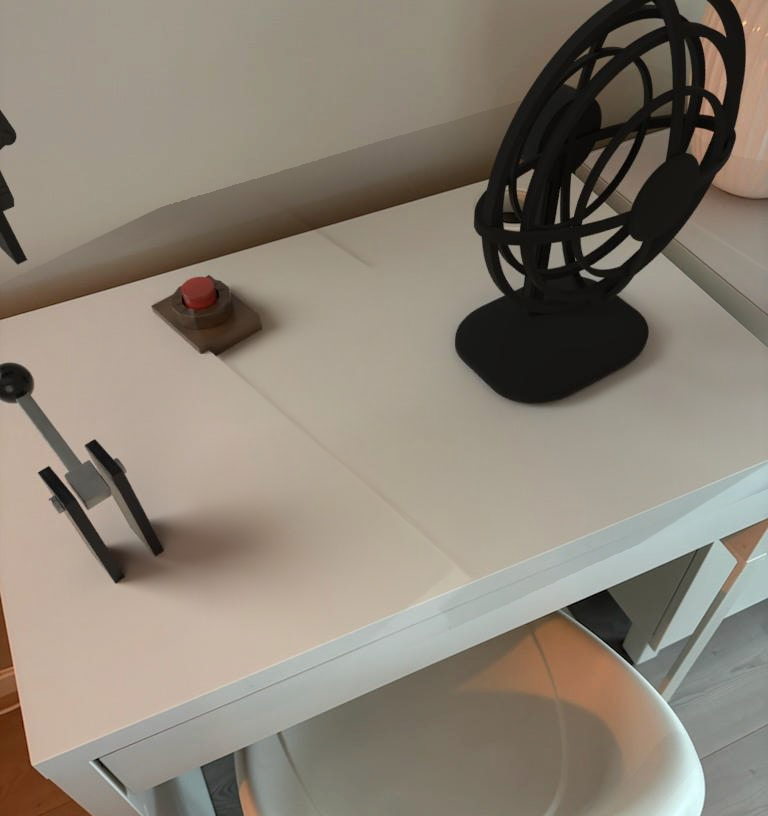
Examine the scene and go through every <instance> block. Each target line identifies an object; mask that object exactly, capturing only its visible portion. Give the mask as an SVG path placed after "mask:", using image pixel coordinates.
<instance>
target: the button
mask: <svg viewBox="0 0 768 816" xmlns="http://www.w3.org/2000/svg"><path fill="white" fill-rule="evenodd" d="M181 286H182V287H181V292H182V295H183V298H184V301H185V304H186V306H187V307H188V308H190V309H195V310H198V309H204V308H208V307H210V306H211V305H213V304H215V303H216V301H217V294H216V290H215V286H214V283H213V281H212V280H211V279H209V278H207V277H206V276H195V277H191V278H189V279H188V280H186V281H184V282H183V284H181Z"/></svg>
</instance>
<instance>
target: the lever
mask: <svg viewBox="0 0 768 816" xmlns="http://www.w3.org/2000/svg"><path fill="white" fill-rule="evenodd" d="M34 390H35V378H34V376H33V374H32V373H31V371H30V370H29V369H28V368H27V367H25V366H24V365H22V364H20V363H17V362H12V361H10V362H9V361H8V362H3V363H1V364H0V401H1V402H3V403H6V404H11V405H16V404H17V405H18V406H19V408H20V409H21V410H22V412H23V413H24V414H25V416H26V417H27V418H28V420H29V421H30V422H31V424H32V425H33V426H34V427H35V429H36V430H37V432H38V433H39V435H41V437H42V439H43V440H44V441H45V443H47V445H48V446H49V448H50V449H51V450H52V452H53V453H54V454H55V456H56V457H57V458H58V460H59V461H60V462H61V464H62V465H63V467H65V469H66V470H67V471H68V472H67V473H64V475H63V477H64V478H65V479H64V480H65V481H66V484H67V485H68V486H69V487H70V489H71V490H72V492H73V494H75V495H76V497H77V498H78V500H79V501H80V502H81V503H82V505H83V506H84V508H85V509H86V511H87V510H88V511H89V510H91V509H93V508H94V507H96V506H97V505H99V504H101V503H102V502H104V501H105V500H107V499H108V498H110V497H111V496H112V494H111V490H110V487H109V486H108V484H107V483H106V482H105V480H104V479H103V478H102V476H101V475H100V473H99V471H98V469H97V467H96V466H95V464H94V463H93V462H92V461H91V460H86V461H84V462H83V463H82V462H81V460H80V459H79V458H78V456H77V454H76V453H75V452H74V451H73V450H72V448H71V447H70V446H69V445H68V443H67V442H66V440H65V439H64V438H63V436H62V435H61V434H60V432H59V431H58V430H57V427H55V426H54V425H53V423H52V422H51V420H50V419H49V418H48V416H47V415H46V414H45V412H44V411H43V410H42V408H41V407H40V406H39V404H38V403H37V402H36V400H35V399H34V398H33V396H32V395H33V393H34Z"/></svg>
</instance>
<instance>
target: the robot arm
mask: <svg viewBox="0 0 768 816" xmlns="http://www.w3.org/2000/svg"><path fill="white" fill-rule="evenodd" d="M16 141H17V132H16V129H14V127H13V125H12V124H11V123H10V121H9V120H8V119H7V117H6V115H5V114H4V113H3V112H2V110H1V109H0V151H1V150H2V149H3V148H4V147H6V146H7V147H8V146H9V147H10V146H11V145H14V144H15V142H16ZM13 208H15V198H14V196H13V194H12V192H11V189H10V187H9V185H8V183H7V181H6V179H5V177H4V175H3V173H2V171H1V170H0V249H1V250H2V251H3V252H4V253H5V254H6V255H7V257H9V259H11V260H12V261H13V262H14V263H15V264H16V265H18V266H19V265H20V264H22V263H25V262H26V261H28V258H27V256H26V254H25V252H24V250H23V248H22V246H21V244H20V242H19V240H18V238H17V237H16V235H15V234H16V233H15V232H14V230H13V229H12V226H11V224H10V222H9V221H8V219H7V217H6V214H5V213H4V212H6V211H8V210H10V209H13Z"/></svg>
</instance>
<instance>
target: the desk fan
mask: <svg viewBox="0 0 768 816" xmlns="http://www.w3.org/2000/svg"><path fill="white" fill-rule="evenodd" d="M706 1H707V2H708V4H710V5H711V6H712V8H713V9H714V10H715V12H716V13H717V15H718V17H719V19H720V22H721V24H722V26H723V29H724V32H725V35H724V34H723V33H722V32H720V31H718V30H717V29H715V28H713V27H710V26H708V25H705V24H704V23H700V22H696V21H690V20H689V19H688V18H686V17H685V16H684V15H683V14H681V13H680V11H679V6H678V5H677V2H676V0H610V1H609V2H608V3H606V4H605V5H603V6H602V7H601V8H600V9H599V10H597V11H596V12H594V14H592V15H591V16H590V17H589V18H588V19H586V21H584V22H583V23H582V24H581V25H580V26H579V27H578V28H577V29H576V30H575V31H574V32H573V33H572V34H571V35H570V36H569V37H568V39H567V40H566V41H565V42H564V43H563V44H562V45H561V46H560V47H559V48H558V50H557V51H556V52H555V53H554V54H553V55H552V57H551V58H550V59H549V61H548V62H547V63H546V65H545V66H544V68H542V70H541V71H540V73H539V74H538V76H537V77H536V79H535V80H534V82H533V83H532V85H531V86H530V88H529V90H528V91H527V92H526V94H525V95H524V97H523V99H522V101H521V103H520V104H519V106H518V108H517V110H516V112H515V113H514V115H513V117H512V119H511V121H510V124H509V126H508V127H507V130H506V132H505V134H504V136H503V138H502V140H501V143H500V146H499V148H498V151H497V153H496V156H495V159H494V162H493V165H492V168H491V171H490V174H489V178H488V182H487V186H486V189H485V190H484V192H483V193H482V194H481V196H480V197H479V198H478V200H477V202H476V204H475V206H474V213H473V228H474V230H475V232H476V234H477V235H478V236H479V237H481V247H482V254H483V258H484V263H485V267H486V269H487V271H488V274H489V276H490V279H491V280H492V282H493V284H494V285H495V287H496V288H497V289H498V290H499V291H500V292H501V293H502V294H503V295H502V296H501V297H498V298H496V299H493V300H492V301H490V302H488V303H487V302H486V303H485V304H482V305H481V306H479V307H477V308H476V309H474V310H473V311H471V312H470V313H469V314H467V315H466V316H465V317H464V318H463V320H462V321H461V322H460V323H459V324H458V326H457V329H456V332H455V334H454V335H455V336H454V349H455V352H456V353H457V356H458V357H459V358H460V359H461V361H462V362H463V363H464V364H466V365H467V366H468V367H469V368H470V369H471V370H472V371H473V372H474V373H475V374H476V375H477V376H478V377H479V378H480V379H481V380H482V381H483V382H484V383H485V384H486V385H487V386H488V387H489V388H490V389H491V390H493V392H495V393H496V394H498V395H500V396H501V397H503V398H505V399H508V400H509V401H514V402H519V403H523V404H524V403H526V404H543V403H550V402H555V401H558V400H561V399H565V398H567V397H569V396H572V395H573V394H576V393H578V392H580V391H581V390H584V389H585V388H587V387H589V386H591V385H593V384H594V383H597V382H598V381H601V380H602V379H604V378H606V377H608V376H610V375H612V374H614V373H615V372H617V371H619V370H621V369H623V368H625V367H627V366H628V365H629V364H631V363H633V361H635V360H636V359H637V358H638V357H639V356H640V355H641V353H643V350H645V347H646V344H647V343H648V338H649V334H650V333H649V332H650V330H649V325H648V322H647V320H646V318H645V317H644V315H642V313H641V312H639V311H638V309H636V308H634V307H633V306H632V305H631V304H629V303H628V302H627V301H625V300H624V299H622V298H621V297H620V296H619V294H620V293H621V292H623V291H624V289H625V288H626V287H627V286H628V285H629V284H630V283H631V281H632V280H633V279H634V277H635V276H636V275H637V274H639V273H640V272H641V271H642V270H643V269H645V268H646V267H647V266H649V264H651V263H652V262H653V261H654V259H656V258H657V257H658V256H659V255H660V254H661V253H662V252H663V251H664V250H665V248H667V246H668V245H669V244H670V243H671V242H672V241H673V240H674V238H676V236H677V235H678V234H679V233H680V231H681V230H682V229H683V228H684V226H685V225H686V224H687V223H688V221H689V220H690V219H691V217H692V216H693V214H694V213H695V211H696V210H697V208H698V207H699V205H700V204H701V202H702V201H703V199H704V197H705V196H706V195H707V192H708V190H709V189H710V187H711V185H712V183H713V181H714V179H715V178H716V176H717V174H718V173H720V171H721V170H722V169H723V168H724V166H725V165H726V164H727V163H728V161H729V159H730V157H731V156H732V152H733V150H734V146H735V144H736V140H737V132H736V130H735V128H736V124H737V121H738V116H739V112H740V106H741V101H742V99H741V98H742V93H743V88H744V81H745V74H746V66H747V65H746V64H747V46H746V35H745V29H744V26H743V22H742V19H741V16H740V13H739V11H738V9H737V7H736V6H735V4H734V3H733V0H706ZM650 3H651V4H650ZM652 3H653V4H652ZM649 19H654V20H655V19H656V20H657V19H658V20H663V24H664V25H662V26H660V27H658V28H656V29H655V28H654V29H653V30H651V31H649V32H647V33H645V34H643V35H641V36H640V37H638V38H637V39H635V40H633V41H632V42H631V43H629V44H627V45H626V46H625V47H620V46H604V44H605V42H606V40H607V37H608V36H609V34H610V33H612V32H614V31H615V30H617V29H620V28H622V27H624V26H626V25H628V24H632V23H634V22H638V21H642V20H649ZM701 38H704V39H706V40H708V41H709V42H710V43H711V44H712V45H713V46H714V47H715V48H716V50H717V51H718V53H719V55H720V58H721V59H722V62H723V66H724V70H725V71H724V72H725V78H726V80H725V81H726V84H725V90H724V94H723V101H722V102H721V101H720V98H718V96H717V95H716V94H715V93H713V92H711V91H710V90H708V89H705V87H706V77H707V75H706V74H707V73H706V72H707V71H706V70H707V69H706V68H707V67H706V57H705V50H704V46H703V43H702V40H701ZM665 43H669V50H670V59H671V78H672V79H671V81H672V88H671V89H669V90H667V91H664V92H663V93H661V94H659V95H658V96H656V97H654V88H653V87H654V86H653V81H652V80H653V79H652V75H651V73H650V70H649V67H648V66H647V63H646V62H645V61H644V60H643V59H642V56H644V55H645V54H646V53H648V52H650V51H652V50H653V49H656V48H657V47H659V46H661V45H663V44H665ZM603 46H604V47H603ZM686 47H687V50H688V53H689V59H690V67H691V82H690V83H691V84H690V85H687V55H686V53H687V52H686ZM587 50H588V52H587V53H585V52H586V51H587ZM584 53H585V54H584ZM581 55H582V56H581ZM608 57H611V58H610V59H609V60H608V61H606V63H605V64H604V65H603V66H602V67H601V68H600V69H599V70H598V71H597V72H596V73H595V74H594V75H593V72H594V68H595V67H596V63H597V60H600V59H603V58H608ZM632 63H633V64H634V66H635V67H636V69H637V70H638V72H639V74H640V78H641V81H642V86H643V87H642V88H643V105H642V107H640V108H639V109H638V110H637V111H636V112H635V113H634V114H633V115H632V116H630V117H629V119H628V120H627V121H623V122H620V123H616V124H613V125H609V126H605V127H602V123H603V122H602V120H603V116H602V108H601V105H600V104H599V102H598V100H597V99H596V98H597V97H598V96H599V95H600V94H601V92H602V91H603V90H604V89H605V88H606V87H607V86H608V84H610V83H611V82H612V81H613V80H614V79H615V78H616V77H617V76H618V75H619V74H620V73H622V72H623V70H625V69H626V68H627V67H629V66H630V65H631V64H632ZM580 70H581V72H580V74H579V75H580V76H579V79H578V82H577V86H576V88H575V87H574V86H571V85H569V84H567V83H565V82H567V81H568V80H569V79H570V78H571V77H573V76H574V75H575V74H576V73H577V72H579V71H580ZM592 75H593V76H592ZM686 97H689V100H688V105H687V109H685V107H686ZM704 99H705V100H706V101H707V102H708V103H709V105H710V107H711V109H712V112H713V115H709V114H702V113H701V110H702V106H703V101H704ZM668 103H671V114H663V115H662V114H661V115H655V116H652V114H653V113H654V112H656V111H657V110H658V109H660V108H662V107H663V106H665V105H667V104H668ZM685 110H686V113H685ZM664 128H669V135H668V143H667V150H666V156H665V161H664V162H663V163H661V164H660V165H659V166H657V168H656V169H654V171H653V172H652V173H651V174H650V175H649V176H648V178H647V179H646V180H645V181H644V182H643V184H642V186H641V187H640V189H639V191H638V192H637V194H636V196H635V198H634V200H633V202H632V205H631V208H630V210H628V211H625V212H621V213H618V214H616V215H612V216H610V217H606V218H603V219H599V220H595V221H591V222H587V223H584V222H583V221H584V220H585V219H587V218H588V217H589V216H591V214H593V213H594V212H596V211H597V210H598V209H599V208H600V207H601V206H602V205H604V203H605V202H606V201H607V200H608V199H609V198H610V197H611V196H612V194H613V193H614V192H615V191H616V189H617V188H618V187H619V185H620V184H621V183H622V182H623V180H624V179H625V177H626V176H627V174H628V173H629V171H630V169H631V168H632V166H633V164H634V162H635V160H636V158H637V156H638V155H639V152H640V150H641V148H642V145H643V143H644V141H645V138H646V136H647V132H648V130H654V129H655V130H656V129H664ZM696 128H697V129H702V130H705V131H710V132H712V136H711V138H710V140H709V143H708V145H707V147H706V150H705V152H704V155H703V157H702V159H701V161H700V162H699V161H698V159H697V157H696V156H695V155H693V154H692V153H688V152H687V151H688V149H689V146H690V144H691V142H692V139H693V136H694V133H695V132H696V131H695V130H696ZM636 132H637V133H636ZM632 133H636V135H635V138H634V141H633V142H632V146H631V147H630V148H631V149H630V150H629V152H628V154H627V156H626V158H625V160H624V162H623V163H622V165H621V166H620V169H618V171H617V173H616V174H615V176H614V177H613V179H612V180H611V181H610V183H609V184H608V185H607V186H606V188H605V189H604V190H603V191H602V192H601V194H599V195H598V196H597V197H596V198H595V200H593V201H592V202H591V203H590V204H589V200H590V198H591V196H592V193H593V191H594V188H595V186H596V184H597V183H598V181H599V179H600V176H601V175H602V173H603V170H605V168H606V166H607V164H608V163H609V161H610V159H611V158H612V157H613V156H614V154H615V153H616V151H617V150H618V149H619V147H620V146H621V144H623V142H624V141H625V140H626V139H627V137H628V136H629V135H631V134H632ZM607 139H610V140H609V142H608V143H607V144H606V145H605V148H604V149H603V150H602V152H601V153H600V154H599V156H598V158H597V159H596V161H595V163H594V164H593V167H592V168H591V170H590V172H589V174H588V175H587V178H586V180H585V182H584V184H583V186H582V189H581V191H580V194H579V197H578V199H577V202H576V205H575V209H574V213H573V216H572V217H571V187H572V175H573V173H575V172H576V171H577V170H579V168H580V167H581V166H582V165H583V164H584V163H585V161H586V160H587V159H588V158H589V156H590V154H591V153H592V152H593V149H594V147H595V145H596V143H597V142H601V141H604V140H607ZM521 161H522V162H521ZM532 170H533V172H532V175H531V177H530V181H529V184H528V186H527V190H526V193H525V196H524V200H523V206H522V208H521V206H520V202H519V196H518V179H519V178H521V177H522V176H523V175H525V174H527V173H528V172H530V171H532ZM506 188H507V189H506ZM506 190H507V191H508V198H509V199H508V200H509V203H510V205H511V209H512V211H513V214H515V216H516V218H517V219H518V220H519V221H520V223H519V230H511V229H506V228H505V224H504V223H505V222H504V203H505V197H506V196H505V194H506ZM588 204H589V205H588ZM558 206H559V222H556V219H557V211H558ZM583 223H584V224H583ZM618 228H619V229H618ZM614 229H617V231H616V232H614V234H613V235H612V236H610V237H609V238H608V239H607V240H605V241H604V242H603V243H602V244H601V245H599V246H598V247H596V248H595V249H593V250H592V251H591V252H589V253H588V254H586V255H584V253H583V247H582V238H587V237H590V236H593V235H597V234H601V233H604V232H607V231H611V230H614ZM629 236H630V237H631V239H633V240H635V241H636V242H641V244H640V247H639V248H638V250H636V251H635V252H634V253H633V254H632V255H631V256H630V257H629V258H627V259H626V260H625V261H624V262H623V263H622V264H621V265H619V266H616V267H612V268H605V269H602V268H596V267H593V265H595V264H596V263H598V262H599V261H601V260H602V259H604V258H605V257H606V256H608V255H609V254H610V253H612V252H613V251H614V250H615V249H616V248H618V247H619V246H620V245H621V244H622V243H623V242H624V241H626V239H628V237H629ZM557 243H561V249H562V256H563V261H564V265H561V266H558V267H552V268H549V264H550V257H551V250H552V245H553V244H557ZM510 246H515V247H516V246H517V247H519V253H520V258H521V262H520V261H518V259H517V258H516V257H515V256H514V254H513V252H512V251H511V248H510ZM500 255H501V256H500ZM500 257H502V258H503V260H504V261H505V262H506V263H507V264H508V265H509V266H510V267H512V268H513V269H514V271H516V272H518V274H520V275H523V276H524V279H523V286H521V287H520V288H517V289H514V288H513V286H512V285H511V284H510V283H509V281H508V279H507V277H506V275H505V273H504V269H503V267H502V263H501V258H500ZM582 271H586V272H587V273H588V274H589V275H592V276H594V277H596V278H601V279H600V280H598V281H597V280H595V279H593V278H590V277H585V276H582V275H581V272H582Z"/></svg>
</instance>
